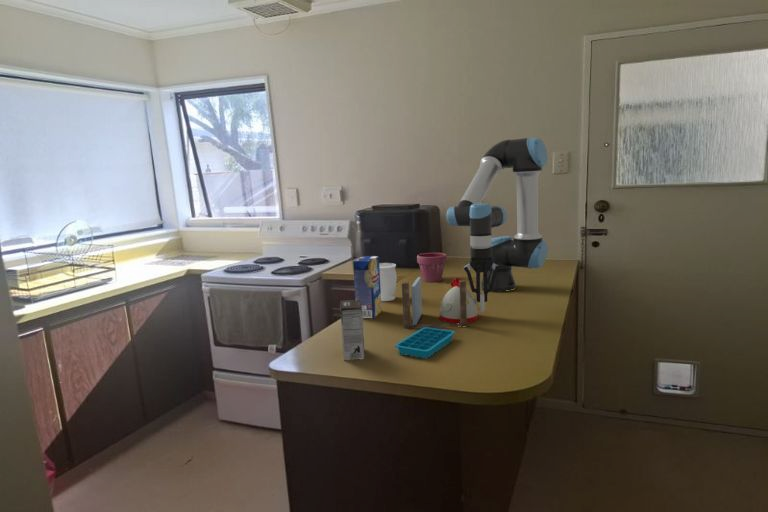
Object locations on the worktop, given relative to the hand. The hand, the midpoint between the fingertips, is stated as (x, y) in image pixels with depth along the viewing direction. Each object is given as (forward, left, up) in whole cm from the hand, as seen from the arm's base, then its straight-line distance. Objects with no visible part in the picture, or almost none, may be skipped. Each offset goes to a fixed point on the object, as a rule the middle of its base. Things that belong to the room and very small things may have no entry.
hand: (482, 310), depth 186 cm
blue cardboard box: (+42, -7, -3) cm, 43 cm away
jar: (+38, -30, -3) cm, 48 cm away
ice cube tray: (+21, +30, -3) cm, 37 cm away
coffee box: (+43, +36, -3) cm, 56 cm away
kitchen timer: (+9, 0, -3) cm, 9 cm away
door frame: (+18, +10, -3) cm, 21 cm away
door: (+24, +2, -2) cm, 25 cm away
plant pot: (+17, -64, -3) cm, 66 cm away
